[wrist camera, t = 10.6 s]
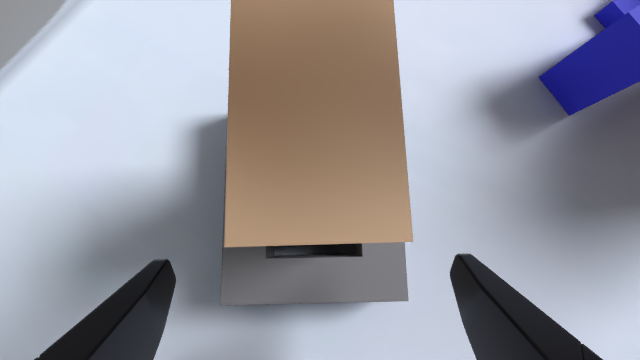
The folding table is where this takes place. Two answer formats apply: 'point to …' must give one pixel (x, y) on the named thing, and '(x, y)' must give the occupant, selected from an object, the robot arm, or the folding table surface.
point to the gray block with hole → (313, 274)
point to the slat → (315, 125)
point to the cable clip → (600, 60)
